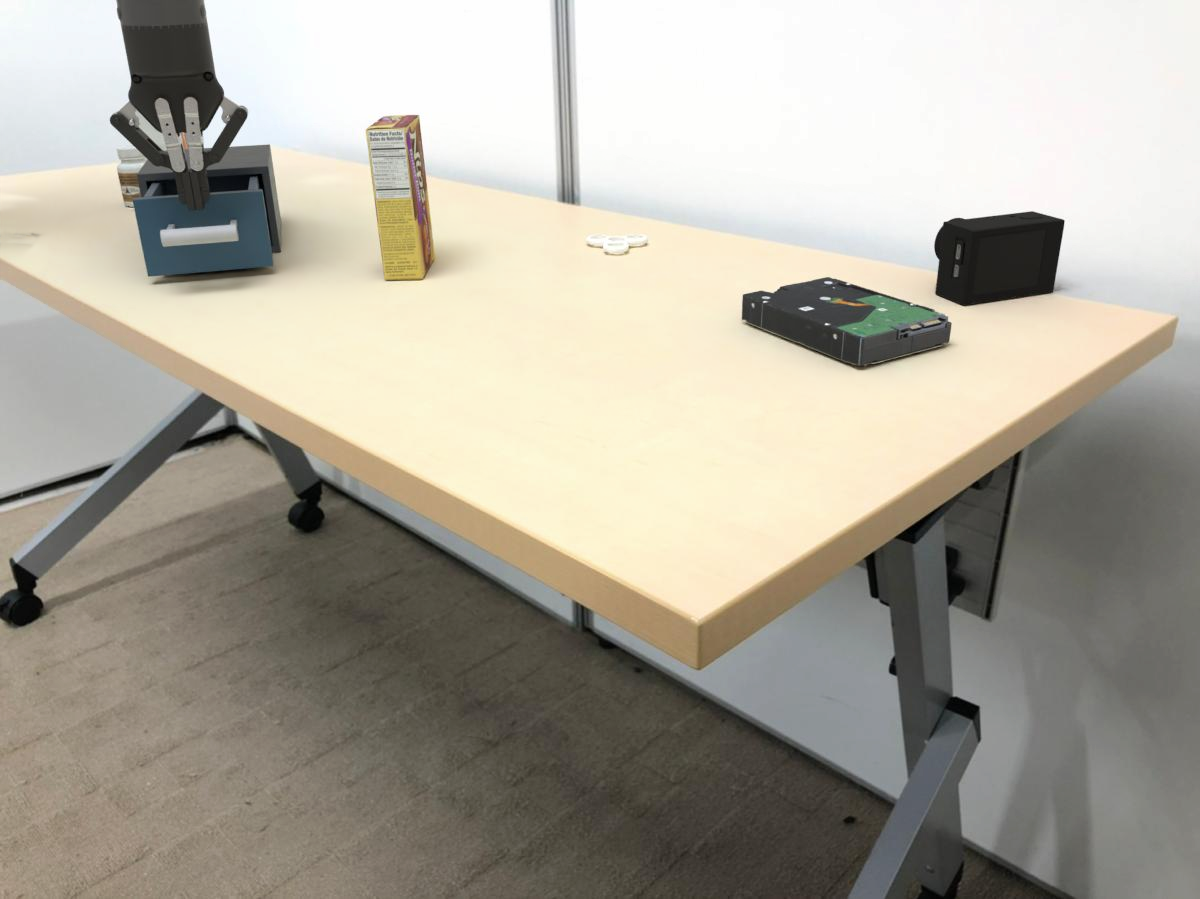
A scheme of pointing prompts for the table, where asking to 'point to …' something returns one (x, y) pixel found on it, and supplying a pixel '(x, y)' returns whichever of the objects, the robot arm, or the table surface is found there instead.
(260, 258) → the blue drawer
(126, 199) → the pill bottle
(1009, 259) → the digital camera
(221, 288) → the table surface
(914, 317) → the disk drive
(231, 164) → the drawer cabinet
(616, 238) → the fidget spinner
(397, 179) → the candy box
